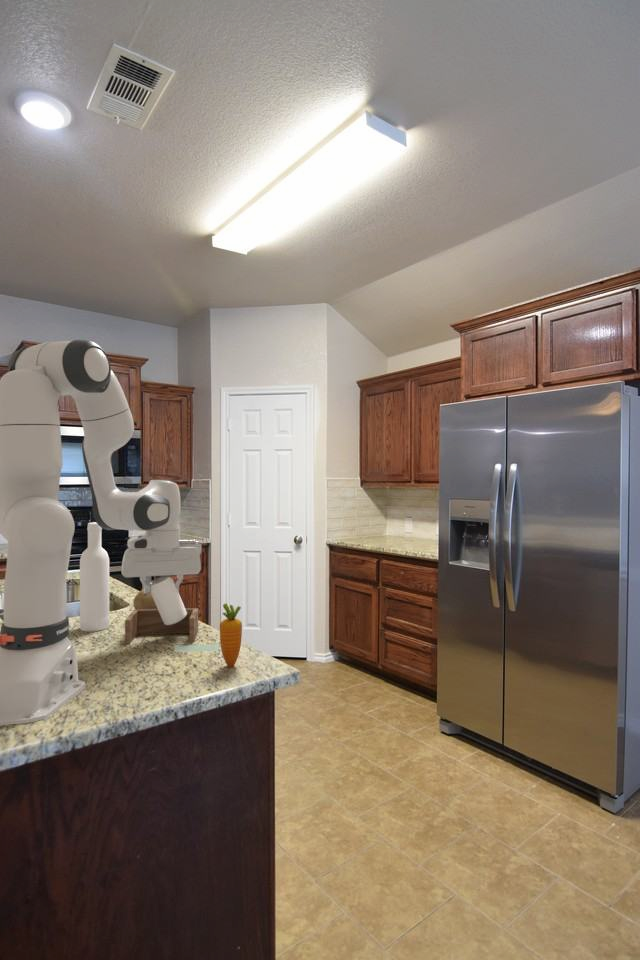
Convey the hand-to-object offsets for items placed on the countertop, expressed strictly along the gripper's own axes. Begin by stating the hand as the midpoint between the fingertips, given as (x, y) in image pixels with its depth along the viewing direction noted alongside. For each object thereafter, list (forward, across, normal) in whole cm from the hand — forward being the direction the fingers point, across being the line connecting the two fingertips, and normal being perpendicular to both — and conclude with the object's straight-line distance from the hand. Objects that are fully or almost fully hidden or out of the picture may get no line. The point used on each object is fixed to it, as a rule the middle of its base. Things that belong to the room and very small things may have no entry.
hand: (161, 592), depth 142 cm
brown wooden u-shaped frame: (+12, -1, -1) cm, 13 cm away
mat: (+12, -6, +15) cm, 21 cm away
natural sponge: (+13, +1, -20) cm, 23 cm away
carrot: (+13, -12, +28) cm, 33 cm away
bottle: (+13, +16, -18) cm, 27 cm away
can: (+8, -4, 0) cm, 9 cm away
